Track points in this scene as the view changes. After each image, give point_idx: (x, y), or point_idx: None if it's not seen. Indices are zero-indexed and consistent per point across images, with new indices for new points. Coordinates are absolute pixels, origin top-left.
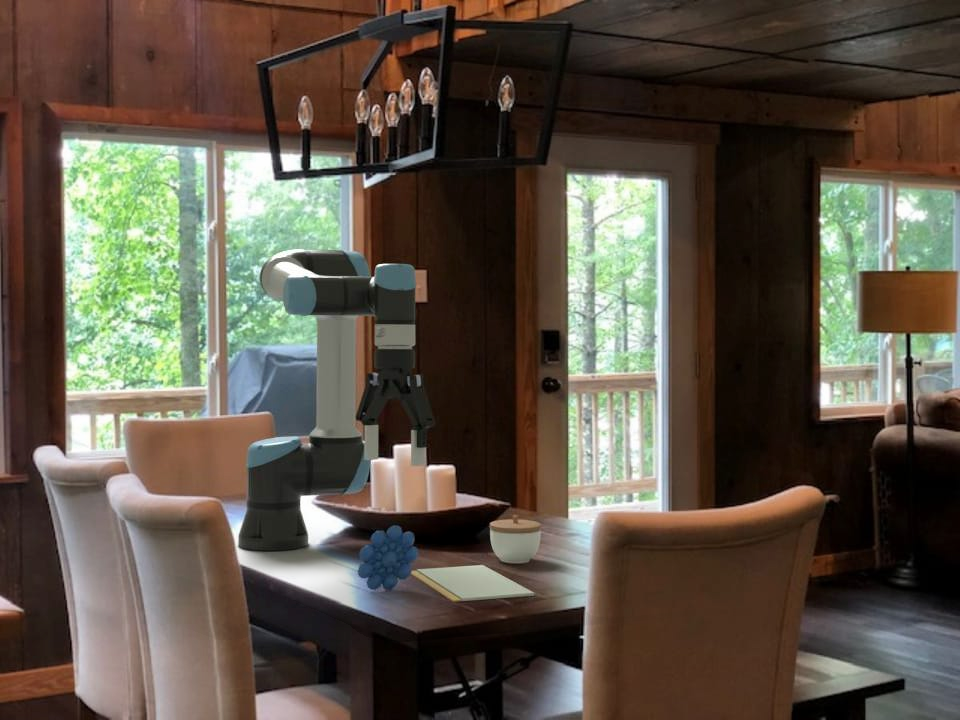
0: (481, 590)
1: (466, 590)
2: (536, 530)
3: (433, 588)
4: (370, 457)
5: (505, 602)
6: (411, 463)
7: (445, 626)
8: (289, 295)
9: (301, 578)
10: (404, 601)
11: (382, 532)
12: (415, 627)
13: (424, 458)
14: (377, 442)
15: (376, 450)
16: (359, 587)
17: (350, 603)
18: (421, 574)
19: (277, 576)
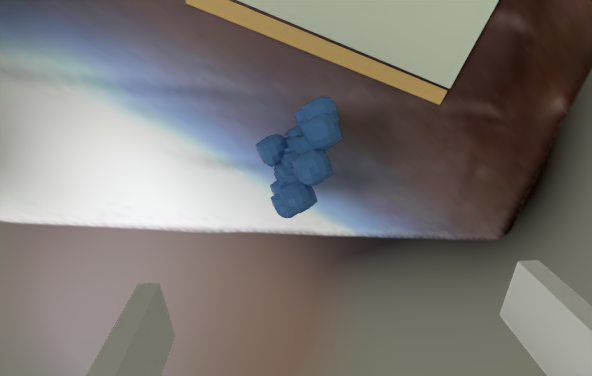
0: (438, 10)
1: (415, 37)
2: None
3: (345, 66)
4: (168, 330)
5: (514, 27)
6: (510, 324)
7: (515, 201)
8: None
9: (135, 201)
10: (376, 163)
11: (308, 199)
12: (486, 230)
13: (564, 287)
14: (120, 373)
15: (144, 331)
16: (250, 163)
17: (331, 227)
18: (234, 3)
19: (101, 222)
